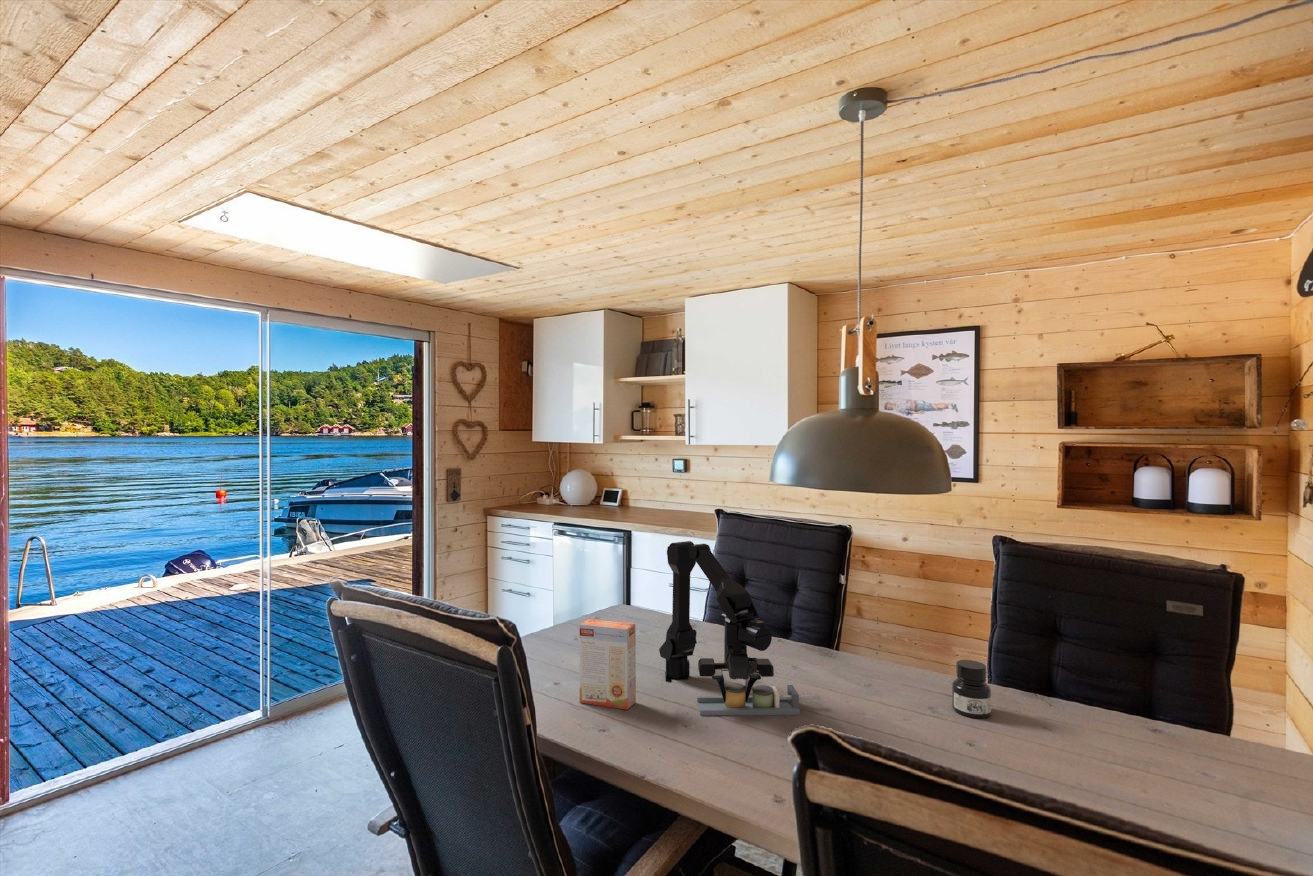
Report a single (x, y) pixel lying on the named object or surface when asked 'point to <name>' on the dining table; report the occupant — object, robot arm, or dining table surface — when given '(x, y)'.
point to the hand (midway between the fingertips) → (735, 700)
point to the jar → (735, 695)
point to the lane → (749, 706)
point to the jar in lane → (762, 696)
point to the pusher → (790, 697)
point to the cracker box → (607, 663)
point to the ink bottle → (971, 690)
